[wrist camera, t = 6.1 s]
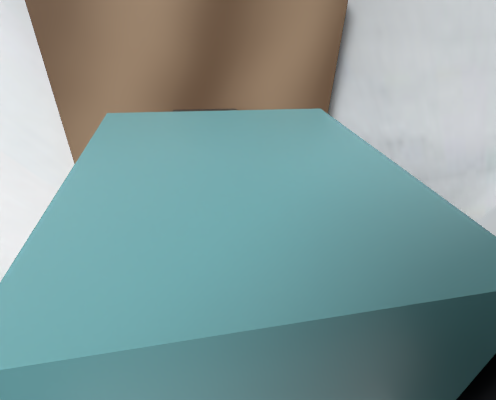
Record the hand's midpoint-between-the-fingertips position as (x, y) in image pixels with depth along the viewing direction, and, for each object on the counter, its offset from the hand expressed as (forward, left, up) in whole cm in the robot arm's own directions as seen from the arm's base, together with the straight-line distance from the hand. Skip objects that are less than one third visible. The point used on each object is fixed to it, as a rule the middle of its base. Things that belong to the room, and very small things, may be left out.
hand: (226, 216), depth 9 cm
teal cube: (0, 0, -1) cm, 1 cm away
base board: (0, 0, -8) cm, 8 cm away
